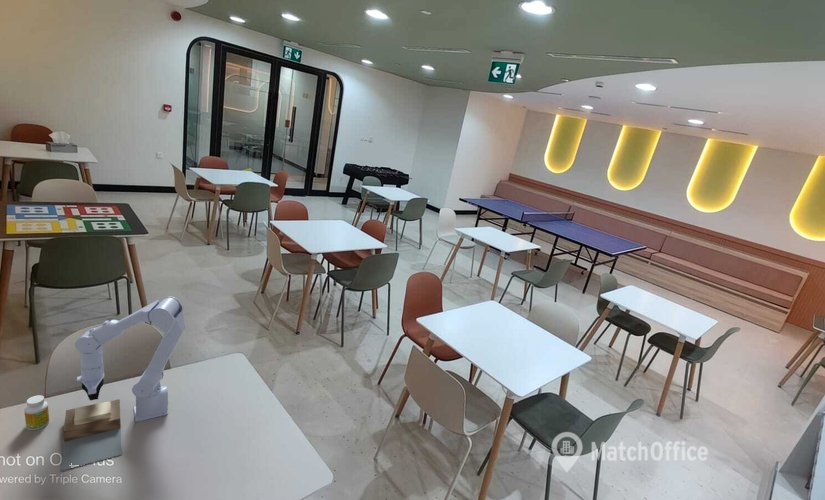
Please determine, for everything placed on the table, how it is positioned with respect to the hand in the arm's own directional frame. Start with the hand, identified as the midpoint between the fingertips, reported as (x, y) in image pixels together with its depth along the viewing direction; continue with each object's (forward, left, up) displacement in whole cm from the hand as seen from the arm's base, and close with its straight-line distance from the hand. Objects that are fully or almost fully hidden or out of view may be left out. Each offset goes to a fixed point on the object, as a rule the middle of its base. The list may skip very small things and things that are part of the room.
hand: (93, 398), depth 133 cm
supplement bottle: (+14, +1, -5) cm, 15 cm away
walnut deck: (0, +7, -5) cm, 9 cm away
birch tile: (0, +7, -1) cm, 8 cm away
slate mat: (0, +18, -5) cm, 19 cm away
